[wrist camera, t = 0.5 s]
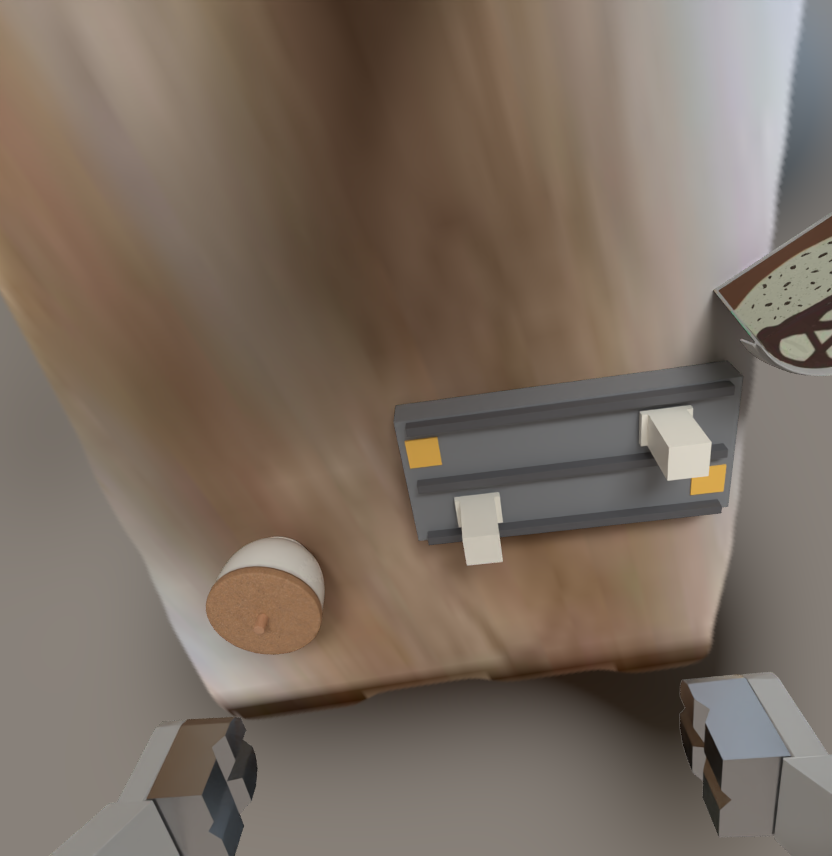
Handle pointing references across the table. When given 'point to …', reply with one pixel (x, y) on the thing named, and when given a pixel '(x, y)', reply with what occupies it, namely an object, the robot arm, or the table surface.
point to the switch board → (566, 452)
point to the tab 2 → (676, 442)
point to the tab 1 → (480, 527)
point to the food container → (788, 303)
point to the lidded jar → (268, 597)
